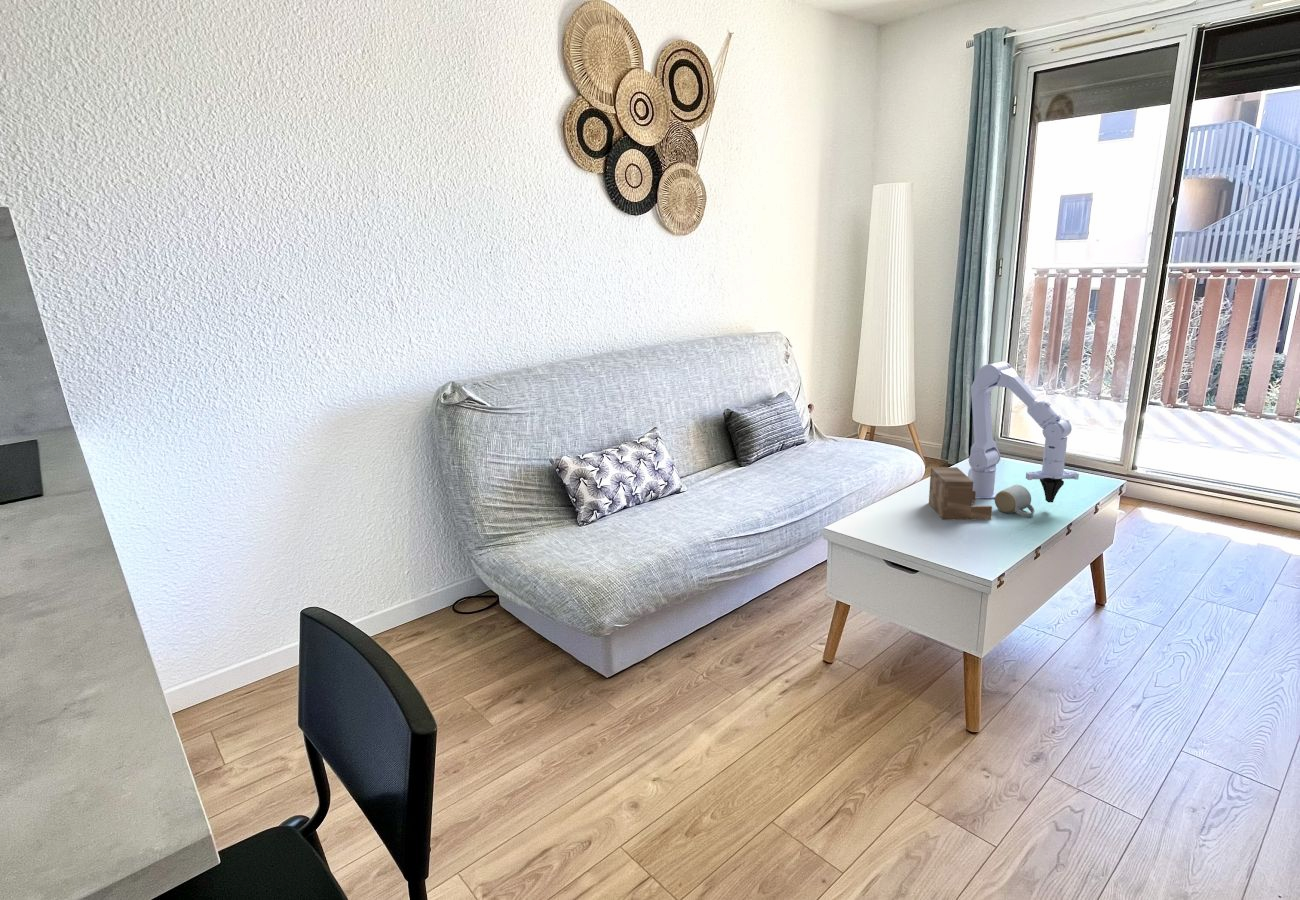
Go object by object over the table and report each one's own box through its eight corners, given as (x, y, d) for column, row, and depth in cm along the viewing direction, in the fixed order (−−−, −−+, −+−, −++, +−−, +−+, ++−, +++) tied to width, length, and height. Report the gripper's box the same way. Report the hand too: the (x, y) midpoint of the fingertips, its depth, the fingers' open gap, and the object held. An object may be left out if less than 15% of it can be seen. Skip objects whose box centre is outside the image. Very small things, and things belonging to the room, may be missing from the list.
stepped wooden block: (928, 503, 227) (930, 467, 224) (973, 502, 225) (976, 467, 222) (942, 519, 212) (945, 481, 209) (990, 519, 211) (994, 481, 208)
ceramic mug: (991, 510, 218) (993, 486, 216) (1007, 504, 222) (1010, 481, 220) (1023, 520, 209) (1026, 496, 207) (1040, 514, 213) (1043, 490, 211)
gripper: (1034, 463, 209) (1030, 505, 212) (1085, 462, 207) (1080, 505, 211) (1024, 456, 215) (1020, 498, 219) (1074, 455, 214) (1069, 497, 217)
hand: (1049, 501), depth 215 cm, fingers closed
